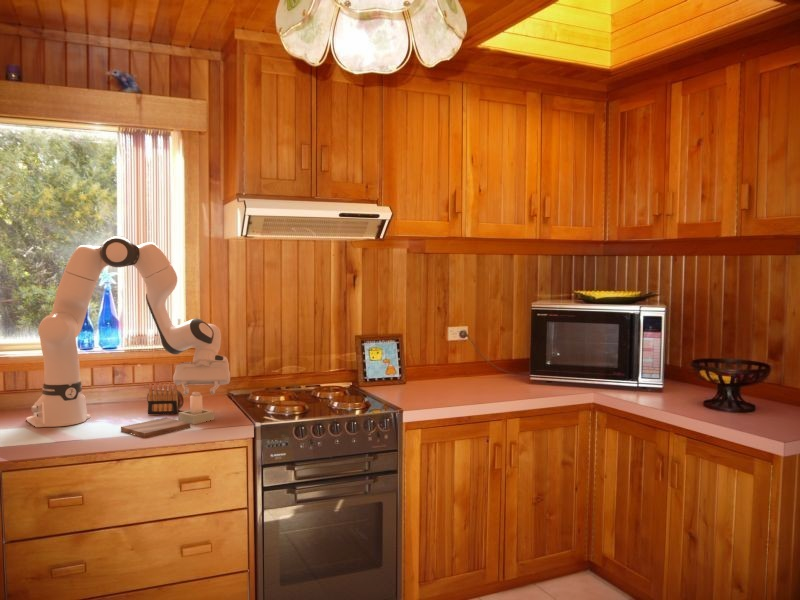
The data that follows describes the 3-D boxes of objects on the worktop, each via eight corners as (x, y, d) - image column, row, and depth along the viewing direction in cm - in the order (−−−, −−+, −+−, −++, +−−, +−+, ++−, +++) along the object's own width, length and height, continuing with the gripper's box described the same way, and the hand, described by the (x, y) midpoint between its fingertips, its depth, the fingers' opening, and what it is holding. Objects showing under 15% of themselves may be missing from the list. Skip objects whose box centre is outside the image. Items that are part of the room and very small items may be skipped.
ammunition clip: (178, 413, 243) (178, 381, 243) (177, 414, 242) (176, 382, 241) (149, 413, 242) (148, 381, 242) (147, 414, 241) (147, 382, 240)
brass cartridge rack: (184, 410, 247) (183, 388, 247) (179, 412, 244) (178, 390, 244) (151, 408, 252) (150, 386, 252) (145, 409, 249) (145, 388, 249)
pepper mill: (187, 420, 231) (187, 392, 230) (197, 418, 234) (197, 391, 234) (195, 422, 228) (194, 394, 228) (205, 420, 232) (204, 392, 231)
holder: (178, 420, 230) (178, 412, 230) (199, 416, 237) (199, 408, 237) (193, 424, 225) (193, 415, 225) (214, 419, 232) (213, 411, 232)
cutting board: (121, 431, 216) (120, 426, 216) (166, 421, 230) (166, 417, 230) (144, 437, 208) (144, 433, 208) (190, 427, 221) (190, 423, 221)
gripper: (175, 357, 241) (167, 388, 232) (230, 356, 242) (225, 387, 233) (178, 367, 246) (171, 398, 236) (233, 367, 247) (228, 397, 237)
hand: (198, 393), depth 234 cm, fingers open, 8 cm apart
